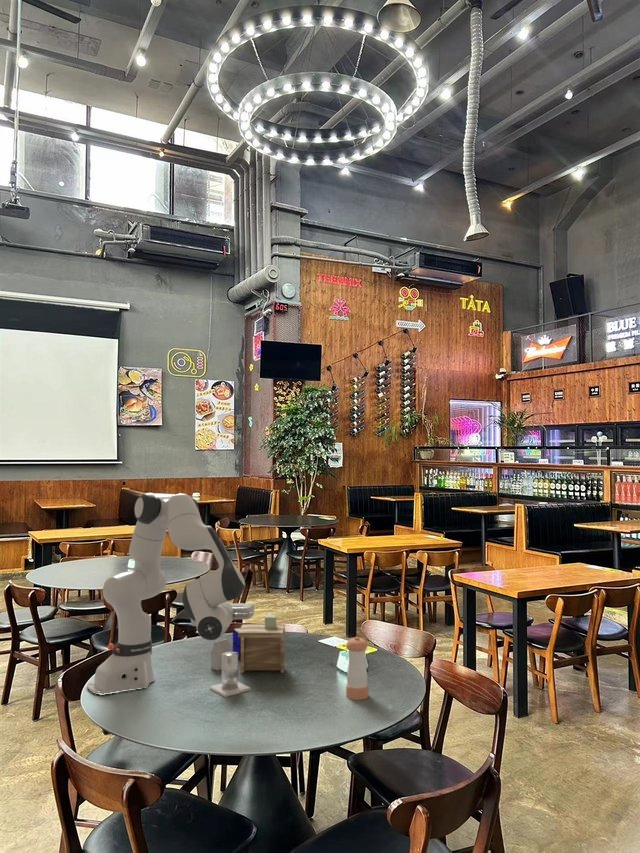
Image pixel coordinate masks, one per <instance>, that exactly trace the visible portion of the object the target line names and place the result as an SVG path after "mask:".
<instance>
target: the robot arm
mask: <svg viewBox="0 0 640 853" xmlns="http://www.w3.org/2000/svg"><path fill="white" fill-rule="evenodd" d="M133 511H134V517H135V519H136V524H135V527H134V530H133V532H132V536H131V537H132V538H131V541H130V544H129V548H128V554H129V556H130V557H131V558H132V560H133V561H134V567H133V569H132V570H129V571H128V570H127V571H124V572H117V573H116V574H114V575H112V576H110V577H108V578H107V579H106V580H105V581H104V583H103V585H102V586H103V587H102V596H103V599H104V600H105V602H106V603H108V604H109V605H110V606H111V607H112V608H113V609H114V611H115V614H116V616H117V618H116V619H117V627H118V632H117V633H118V638H117V640H118V641H116V643H115V644H114V643H112V642H110V643H108V645H107V648H108V649H109V650H110V651H112V654H111V655H110V656H109V657H108V658H107V659H105V661H103V662H101V664H100V665H99V666H97V668H96V670H95V673H94V679H93V680H92V681H89V682H88V684H87V687H88V688H87V690H88V689H89V690H90V691H92V692H95V693H102V694H104V693H110V692H116V691H122V690H129V689H137V688H145V687H147V686H148V684H149V683H151V682H153V681H154V682H155V680H156V679H155V678H156V677H155V675H154V670H153V665H152V654H153V640H152V639H153V638H152V637H151V636H152V633H151V632H152V618H151V616H150V615H149V613H147V612H144V611H143V608H142V601H143V600H147V599H151V598H154V597H155V596H157V595H160V594H161V593H162V592H163V591H164V590H165V589H166V587H167V576H166V573H165V572H164V571H163V570H162V568H161V555H162V551H163V547H164V542H165V540H166V535H167V532H168V536H169V538H170V540H171V542H172V544H173V545H174V546H176V547H177V548H179V549H180V550H184V551H197V550H210V551H212V554H213V556H214V557H215V560H216V562H217V563H218V565H219V566H218V568H216V569H215V570H213V571H212V572H210V573H208V574H206V575H203V576H201V577H199V578H197V579H194V580H192V581H190V582H188V583H186V585H185V586H184V589H183V592H182V596H181V597H182V604H183V608H184V610H185V613H187V616H188V617H189V618H190V623H191V624H190V625H191V626H192V627H196V632H197V633H198V635H199V637H201V638H202V639H203V640H206V641H217V640H218V639H220V638H221V637H223V635H225V634H226V632H228V631H227V630H228V629H229V627H230V626H231V623H232V622H233V620H250V619H251V618H252V617H254V615H255V604H254V603H252V602H251V603H250V602H249V603H243V602H237V603H235V602H234V603H231V601H233V600H236V599H238V598H241V596H242V594H243V592H244V590H245V587H246V581H245V578H244V576H243V573H242V572H241V571H240V570H239V568H238V567H237V566H236V565H235V562H234V561H233V558H232V557H231V555H230V553H229V551H228V549H227V548H226V546H225V544H224V542H223V540H222V539H221V537H220V536H219V534H218V532H217V531H216V529H214V528H213V526H212V525H206V524H205V523H204V522H203V520H202V517H201V515H200V514H201V513H200V507H199V504H198V502H197V500H196V499H195V498H193V497H191V495H188V494H186V493H177V494H175V493H153V492H145V493H141V494H140V495H139V496H138V497H137V499H136V500H135V504H134V509H133ZM229 602H230V603H229ZM154 682H153V683H154ZM151 684H152V683H151ZM149 685H150V684H149ZM148 687H149V686H148ZM148 687H147V688H148ZM145 689H146V688H145ZM89 690H88V691H89ZM90 691H89V692H90ZM98 691H100V692H98ZM92 692H91V693H92Z"/></svg>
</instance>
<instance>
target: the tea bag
mask: <svg viewBox="0 0 640 853" xmlns="http://www.w3.org/2000/svg"><path fill="white" fill-rule="evenodd" d="M225 652H232V648H231V645H230V641H229V638H225V639H221V640H216V641H214V642H213V646H212V648H211V653H210V656H211V658H210V666H211V667H210V669H212V670H215V671H220V670H221V671H222V654H223V653H225Z"/></svg>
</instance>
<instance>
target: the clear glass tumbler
mask: <svg viewBox="0 0 640 853" xmlns="http://www.w3.org/2000/svg"><path fill="white" fill-rule="evenodd" d="M238 682H239V659H238V653H237V652H233V651H231V652H225V653H223V654H222V669H221V683H222V689H224V690H233V689H236V688H238Z"/></svg>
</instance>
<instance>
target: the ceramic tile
mask: <svg viewBox="0 0 640 853" xmlns="http://www.w3.org/2000/svg"><path fill="white" fill-rule="evenodd" d="M209 690H211V691H212V692H215V693H216V694H218V695H220V696H222V697H224V698H226V697H230V696H233V695H237V694H241V692H242V693H246V692H248V691H251V687H250V686H249V685H246V684H244V683H242V682H240V681H238V688H236V689H233V690H224V689H222V682H221V683H219V684H218V683H217V684H214V685H210V686H209Z"/></svg>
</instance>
